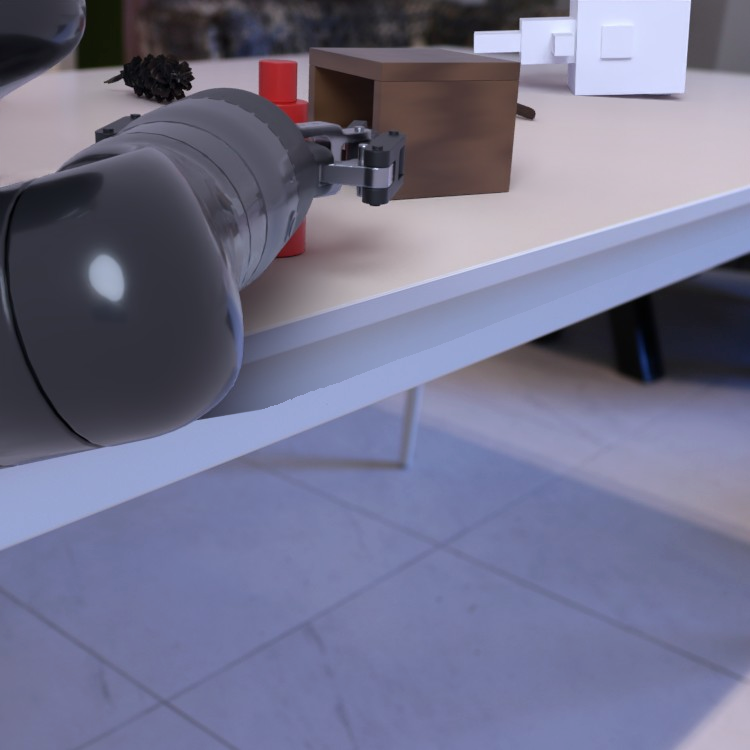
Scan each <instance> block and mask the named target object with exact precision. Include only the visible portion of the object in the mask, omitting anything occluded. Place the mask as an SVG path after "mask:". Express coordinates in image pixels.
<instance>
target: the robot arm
mask: <svg viewBox="0 0 750 750" xmlns="http://www.w3.org/2000/svg"><path fill="white" fill-rule="evenodd" d="M86 4H87V3H86V0H0V100H2V99H3V98H5V97H6V96H8V95H9V94H11V93H12V92H14V91H15V90H17V89H19V88H21V87H23V86H24V85H27V83H29V82H31V81H33V80H35V79H36V78H37V77H40V76H42V75H43V74H45V73H46V72H48V71H50V70H51V69H52V68H54V67H55V66H56V65H58V64H60V63H61V62H62V61H64V60H65V59H66V58H68V56H69V55H70V54H72V53H73V52H74V50H75V49H76V48H77V47H78V45H80V42H81V40H82V38H83V37H84V34H85V30H86V26H87V5H86ZM304 138H313V139H314V143H313V142H311V141H308V140H305V139H304ZM94 142H95V143H93V144H91V145H89V146H87V147H86V148H84V149H81V151H79V152H77V153H75V154H74V155H73V156H71V157H70V158H69V159H67V160H66V161H64V162H63V164H62V165H61V166H60V167H59V168H58V169H56V171H55V172H53V173H49V174H46V175H42V176H40V177H34V178H30V179H27V180H24V181H23V180H22V181H19V182H16V183H12V184H8V185H5V186H4V185H3V186H1V187H0V470H4V469H9V468H14V467H17V466H24V465H28V464H33V463H39V462H42V461H48V460H52V459H56V458H62V457H65V456H70V455H75V454H81V453H84V452H90V451H94V450H95V451H96V450H99V449H104V448H109V447H118V446H121V445H122V446H123V445H127V444H132V443H137V442H140V441H141V442H142V441H147V440H151V439H153V438H154V439H155V438H159V437H161V436H164V435H168V434H171V433H173V432H176V431H178V430H180V429H182V428H184V427H186V426H188V425H190V424H192V423H193V422H195V421H197V420H198V419H200V418H202V417H203V416H204V415H205V414H207V413H209V412H210V411H211V410H212V409H213V408H215V407H216V406H218V404H220V403H221V401H222V400H224V398H225V397H226V396H227V395H228V394H229V392H230V391H231V390H232V388H233V387H234V385H235V384H236V382H237V379H238V377H239V374H240V371H241V368H242V364H243V358H244V356H243V355H244V340H245V339H244V338H245V327H244V314H243V307H242V300H241V295H240V292H241V291H242V290H243V289H245V288H247V287H248V286H249V285H251V284H252V283H253V282H254V281H255V280H257V279H258V278H259V277H260V276H261V275H262V274H263V273H264V272H265V271H266V269H267V268H268V267H269V266H270V265H271V264H272V263H273V261H274V260H275V258H277V257H276V256H277V254H278V253H279V252H280V251H281V250H282V248H283V247H284V246H285V244H286V243H287V242H288V241H289V239H290V238H291V237H292V235H293V234H294V233H295V232H296V230H297V229H298V228H299V226H300V225H301V223H302V222H303V220H304V218H305V216H306V217H307V214H308V212H309V210H310V208H311V205H312V203H313V200H314V199H318V198H324V197H331V196H335V195H337V194H339V192H340V191H341V188H342V186H349V187H356V197H358V198H361V202H362V203H363V204H366V205H369V206H370V207H380V206H383V205H387V204H389V202H390V201H392V200H391V198H392V197H393V196H394V195H395V193H396V192H397V191H398V190H399V188H400V187H401V186H402V185H403V180H404V162H405V144H406V134H404V133H399V131H398V130H389V132H383V133H381V134H380V135H379V136H378V131H377V130H375V129H367V121H359V120H354V121H353V122H352V123H351V124H350V125H349V126H348V127H347V128H346V129H342V128H341V126H340V125H337V124H332V123H327V122H322V121H315V122H305V123H294V122H293V121H292V119H291V118H290V117H289V116H288V115H287V114H286V113H285V112H284V111H283V110H282V109H280V108H279V107H278V106H277V105H275V104H274V103H272V102H271V101H269V100H267V99H266V98H264V97H262V96H260V95H259V94H258V93H255V92H252V91H249V90H245V89H240V88H234V87H214V88H207V89H204V90H200V91H197V92H194V93H192V94H189V95H187V96H185V97H184V98H182V99H180V100H177V99H176V100H175V101H172V102H170V103H167V104H164V105H163V106H160V107H158V108H155V109H153V110H151V111H148V112H146V113H144V114H142V115H141V114H140V113H130V114H129V115H125V116H123V117H121V118H119V119H116V120H114V121H112V122H110V123H108V124H107V125H104V126H102V127H100V128H99V129H96V130H94ZM344 144H345V161H341V152H342V147H343V145H344Z"/></svg>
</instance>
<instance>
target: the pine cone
mask: <svg viewBox="0 0 750 750" xmlns="http://www.w3.org/2000/svg"><path fill="white" fill-rule="evenodd" d="M122 65H123V66H122V67H123V68H122V69H121V70H119V74H117V75H114V76H112V77H110V78H109V79H107V80H105V81H103V84H108V85H109V84H115V83H118V82H119V81H121V80H123V82H124V86H126V87H128V88H132V89H133V92H134V94H135V95H136V96H137V97H138V98H140V97H142V96H145V99H147V100H151V99H153V98H154V99H155V100H156V102H157V103H158V104H159V103H162V102H163V101H166V102H168V104H170V103H172V102H174V100H176V101H177V100H180V99H182V98H184V97H186V94H185V92H189V91H191V90H192V89H193V84H192V83H191V82H192V81H194V80H196V78H195V76H194V75H193V71H192V70H193V68H192V67H190V64H189V63H188V61H186V60H183V61H182V62H180V61H179V58H178V57H177V56H175V55H174V54H173V53H172V52H170V53H168V54H167V55H166V56H165V55H164V54H163V53H159V54H157V56H156V57H155V56H154V55H153V54H151V53H148V54H147V55H146V56H144V58H141V56H140V54H138V55H137V56H133V57H132V58H131V60H130V62H126V63H123V64H122Z"/></svg>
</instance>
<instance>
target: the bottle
mask: <svg viewBox="0 0 750 750" xmlns="http://www.w3.org/2000/svg"><path fill="white" fill-rule="evenodd" d="M298 66H299V65H298V62H297V61H296V60H291V59H275V58H272V59H270V58H267V59H260V60H258V95H260V96H262V97H264V98H266V99H267V100H269V101H271V102H272V103H274V104H275V105H277V106H278V107H279V108H280V109H282V110H283V111H284V112H285V113H286V114H287V115H288V116H289V117H290V118H291V119H292V121H293V122H294V123H305V122H308V100H305V99H301V98H298V68H299V67H298ZM304 139H305V140H308V138H304ZM306 228H307V215H306V216H305V218H304V220H303V222H302V223H301V225H300V226H299V228H298V229H297V230H296V232H295V233H294V234H293V235H292V237H291V238H290V239H289V241H288V242H287V243H286V244H285V246H284V247H283V248H282V250H281V251H280V252H279V253H278V254H277V256H276V257H275V258H286V257H294V256H298V255H301V254H303V253H304V252H305V251H306V232H307V229H306Z"/></svg>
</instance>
